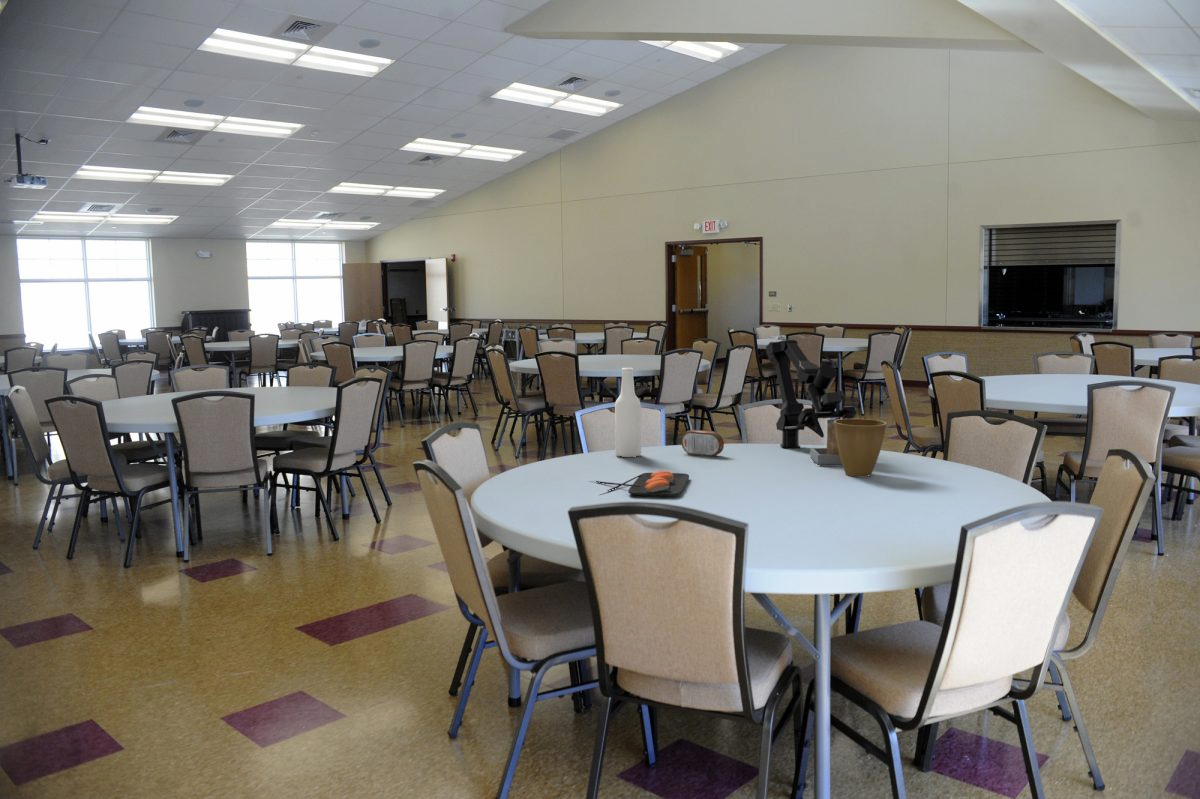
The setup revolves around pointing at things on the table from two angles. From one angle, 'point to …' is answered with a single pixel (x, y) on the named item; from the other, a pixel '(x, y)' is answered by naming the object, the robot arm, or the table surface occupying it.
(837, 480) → the table surface
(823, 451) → the box
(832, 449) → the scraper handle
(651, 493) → the sushi plate
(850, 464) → the plant pot
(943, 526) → the table surface
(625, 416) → the alcohol
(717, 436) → the tin
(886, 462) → the table surface
